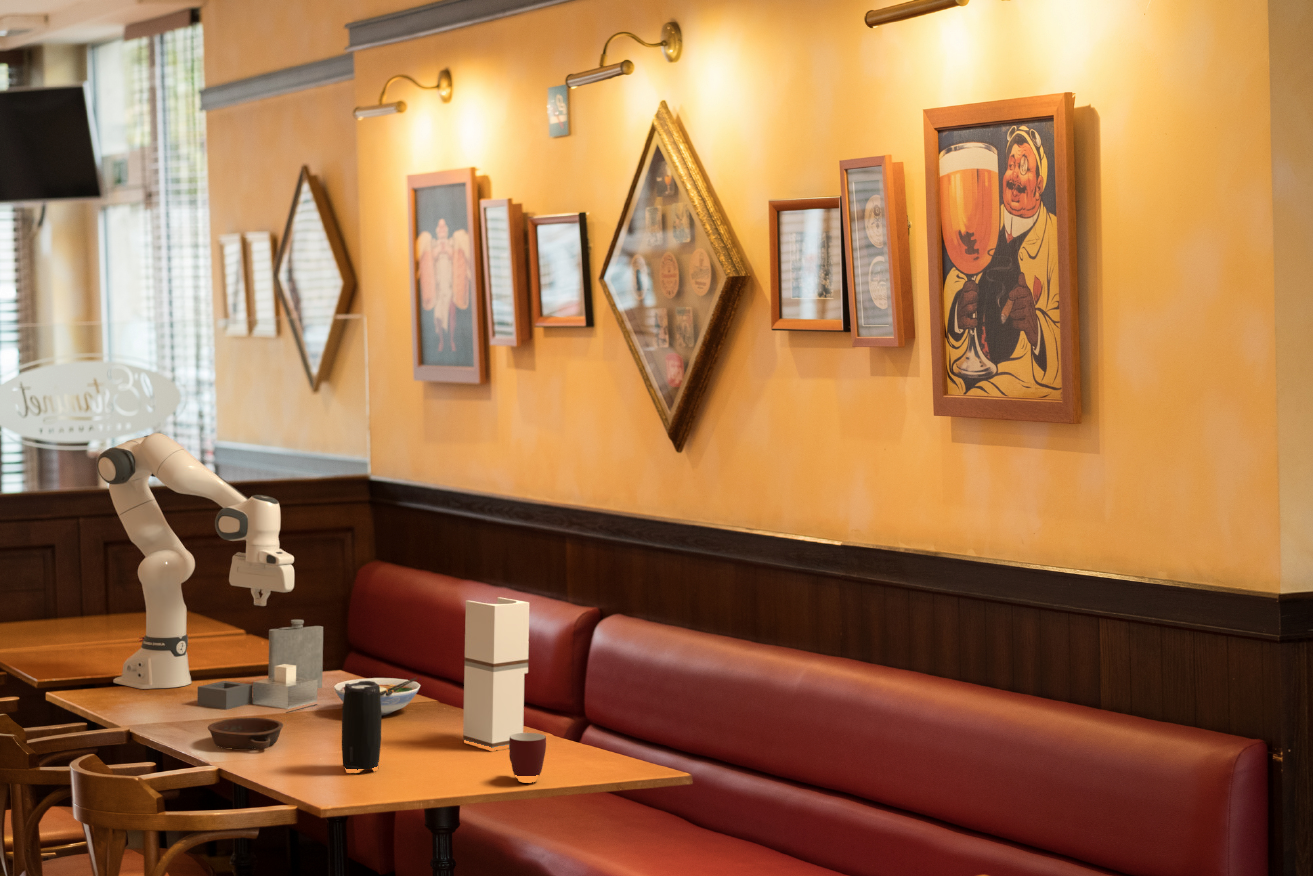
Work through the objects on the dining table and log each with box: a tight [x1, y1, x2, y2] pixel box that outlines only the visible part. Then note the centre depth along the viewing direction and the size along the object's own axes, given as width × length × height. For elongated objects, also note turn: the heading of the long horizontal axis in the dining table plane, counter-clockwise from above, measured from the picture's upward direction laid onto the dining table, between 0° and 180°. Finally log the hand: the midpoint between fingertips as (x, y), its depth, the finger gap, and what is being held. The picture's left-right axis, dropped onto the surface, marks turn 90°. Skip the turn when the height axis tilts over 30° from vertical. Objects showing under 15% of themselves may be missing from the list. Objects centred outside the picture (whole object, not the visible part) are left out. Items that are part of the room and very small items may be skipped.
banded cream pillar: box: [462, 597, 530, 748], centre depth 362 cm, size 11×11×35 cm
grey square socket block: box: [196, 680, 253, 711], centre depth 398 cm, size 10×10×6 cm
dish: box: [207, 717, 284, 750], centre depth 357 cm, size 18×22×5 cm
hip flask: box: [267, 619, 324, 689], centre depth 425 cm, size 16×4×20 cm, turn 125°
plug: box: [274, 664, 296, 684], centre depth 402 cm, size 4×4×10 cm
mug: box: [508, 732, 547, 776], centre depth 329 cm, size 11×8×10 cm
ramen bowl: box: [333, 677, 421, 717], centre depth 396 cm, size 25×23×8 cm
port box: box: [252, 677, 318, 714], centre depth 402 cm, size 12×12×7 cm
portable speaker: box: [341, 681, 382, 770], centre depth 335 cm, size 9×9×20 cm
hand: (260, 605), depth 408 cm, fingers closed
